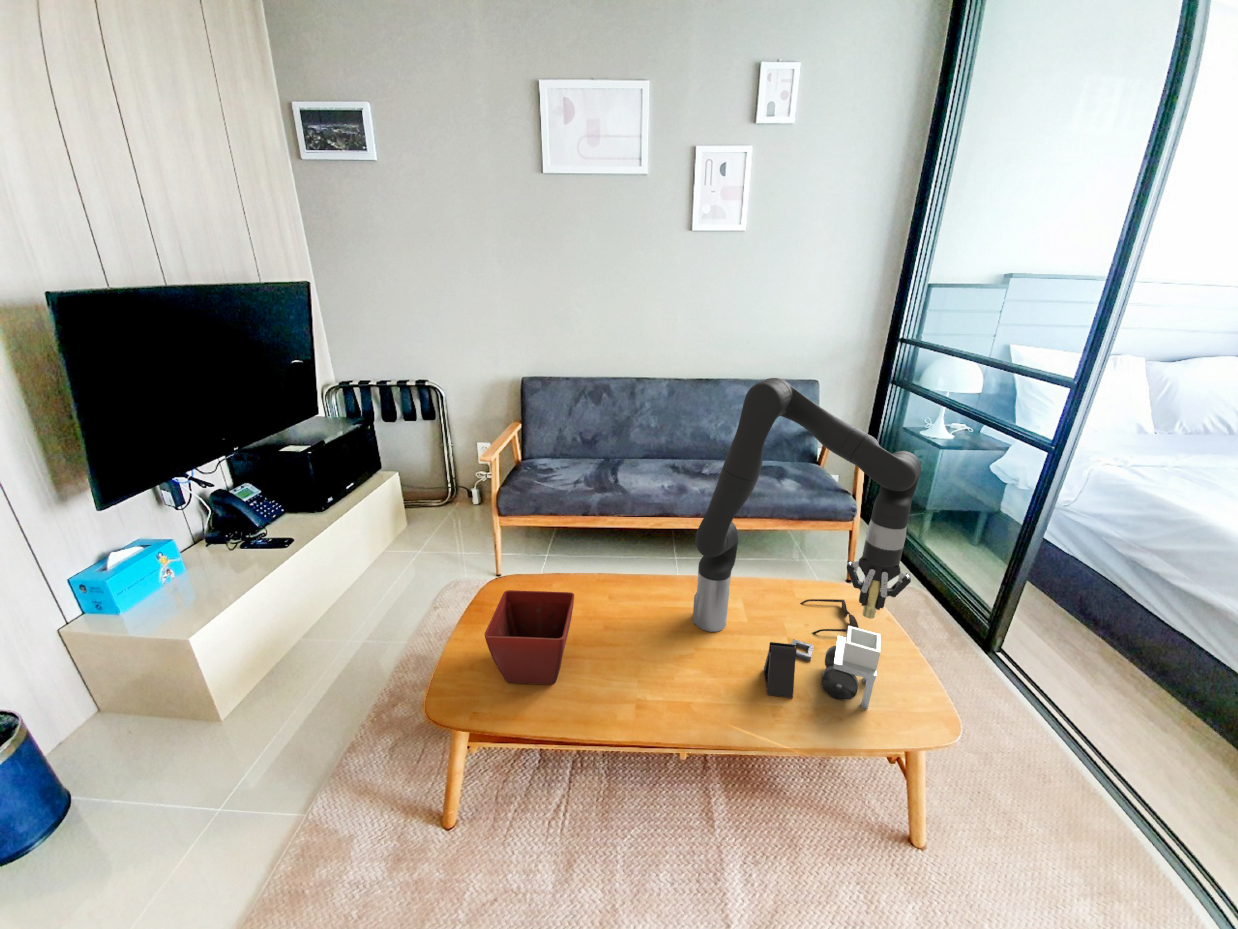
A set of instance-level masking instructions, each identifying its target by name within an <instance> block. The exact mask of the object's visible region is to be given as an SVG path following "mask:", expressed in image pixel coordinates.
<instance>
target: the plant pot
mask: <svg viewBox="0 0 1238 929" xmlns="http://www.w3.org/2000/svg"><path fill="white" fill-rule="evenodd" d="M574 604H575V594H574V593H573V592H569V591H546V590H539V591H538V590H514V589H513V590H512V589H511V590H508V589H507V590H505V591H504V592H503V593H502V595H501V598H500V600H499V601H498V604H497V607H496V609H495V611H494V612H493V616H492V617H491V619H490V621H489V623H488V625H487V628H486V629H485V632H484V638H485V642H486V646H487V648H488V651H489V653H490V655H491V658H492V660H493V662H494V664H495V666H496V668H497V669H498V671H499V673H500V674H501V676H502V678H503V679H504V680H505V681H506V682H507V683H509V684H510V683H512V684H532V685H554V684H555V683H556V682H557V680H558V678H559V674H560V670H561V666H562V661H563V657H564V651H565V647H566V644H567V641H568V636H569V631H570V626H571V622H572V616H573V609H574Z"/></svg>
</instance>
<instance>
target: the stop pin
mask: <svg viewBox="0 0 1238 929" xmlns="http://www.w3.org/2000/svg"><path fill="white" fill-rule="evenodd" d="M880 591H881V583H880V581H876V580H872V581H871V584H870V586H869V588H868V590H867V598H866V603H865V606H863V609H862V616H863V617H864V618H867V619H871V620H872V619H874V618H875V617H876V611H877V609H876V607H877V603H878V598H879V595H880Z"/></svg>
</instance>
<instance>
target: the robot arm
mask: <svg viewBox="0 0 1238 929" xmlns="http://www.w3.org/2000/svg"><path fill="white" fill-rule="evenodd" d="M779 417H782V418H785V419H788V421H789V420H790V421H792V422H794V423H796V424H798V425H800V427H802V428H803V429H804V430H806V431H807V432H809V434H811V436H813V437H814V438H815V439H816V440H817V441H818V442H819V443H820V444H821V445H822V446H823V447H825V448H826V449H827V450H829V451H830V452H832V453H833V454H835V455H837V456H838V457H840V458H842V459H844V460H845V461H847V462H849V463H850V464H853V465H855V466H856V467H857V468H858V469H860V470H861V472H863V473H864V474H865V475H867V476H868V477H869V478H870V479H871V480H873V481H874V482H875V483H876V484H878V485H879V486H880V488H879V491H878V494H877V496H876V498H875V499H874V502H873V507H872V512H871V518H870V521H869V523H868V526H867V530H866V531H865V534H866V536H865V540H864V545H863V550H862V555H861V557H860V558H859V559H858V561H852V560H848V561H847V562H846V570H847V574H848V576H849V578H850V581H851V584H852V586H853V588H854V589H858V590H859V591H860V593H859V597H858V602H859V603H860V605H861V606H862V607H864V606H865V603H866V598H867V590H868V588H869V586H870V584H871V581H872V580H876V581H880V583H881V590H880V595H879V598H878V603H877V607H876V611H880V610H881V609H884V607H885V603H886V599H887V598H888V597H891V598H896V597H897V596H898V595H899V594H900V593H901V592H903V591H904V590H905V588H906V587H907V586H908V585H910V584H911V582H912V578H911V574H910V573H908V572H906V573H905V572H904V571H902V570H901V567H900V563H901V559H902V555H903V551H904V547H905V546H904V545H905V541H906V537H907V527H908V522H909V517H910V515H911V514H910V513H911V506H912V501H913V498H914V495H915V492H916V490H917V487H918V482H919V479H920V477H921V473H922V466H921V462H920V459H919V458H918V457H917V456H916V455H915V454H914V453H912V452H910V451H906V450H900V451H895V452H893V453H891V452H889V451H887V450H886V449H885V448H883V447H881V445H880V444H879V441H878V439H876V438H875V437H874V436H872V435H870V434H868V433H866V432H865V431H863V430H861V429H860V428H858V427H856V426H854V425H852V424H850V423H848V422H846V421H844V420H842V419H841V418H839V417H837V416H835V415H834V414H832V413H831V412H829V411H827V410H826V409H824V408H823V407H821V406H820V405H818V404H817V403H815V402H814V401H813V400H811V399H810V398H808V397H807V396H805V395H804V394H803V393H802V392H800V391H799V390H798V389H797V388H795V387H794V386H792V384H790V383H789V382H787V381H786V380H784V379H782V378H780V377H770V378H767V379H764V380H762V381H759V382H757V383H755V384H754V385H752V387H750V388H749V389H748V390H747V392H746V393H745V397H744V400H743V404H742V408H741V413H740V417H739V421H738V425H737V429H736V432H735V435H734V438H733V440H732V442H731V444H730V448H728V453H727V455H726V458H725V460H724V462H723V465H722V468H721V471H720V473H719V478H718V479H717V483H716V486H715V488H714V491H713V494H712V497H711V499H710V502H709V506H708V508H707V510H706V513H705V514H704V515H703V519H702V520H701V522H700V524H699V526H698V528H697V531H696V533H695V547H696V549H697V550H698V553H700V555H702V557H701V558H700V560H699V563H698V567H697V568H698V569H697V571H698V572H697V580H696V581H697V583H696V584H697V585H696V592H695V594H694V595H693V596H694V597H693V610H692V611H693V612H692V622H691V623H692V624H693V625H696V626H697V627H698V628H699V629H700V630H702V631H706V632H710V633H717V632H721V631H722V630H724V629H725V628H726V626H727V618H728V610H729V607H728V606H729V599H730V598H729V596H730V587H731V579H732V578H731V577H732V570H733V568H734V566H735V563H736V559H737V553H738V552H737V551H738V544H739V532H738V529H737V526H736V524H735V523H734V522H733V520H734V518H735V516H737V514H738V513H739V511H740V510H741V509H742V508H743V506H745V504H746V503H747V500H748V499H749V498H750V497H751V495H752V493H753V491H754V489H755V487H756V484H757V482H758V480H759V478H760V475H761V471H762V467H763V457H764V456H763V455H764V453H763V452H764V447H765V446H764V445H765V442H766V440H767V437H768V436H769V433H770V432H771V428H772V427H773V426H774V423H775V422H776V420H777V419H778V418H779ZM858 568H860V570H861V571H862V573H863V575H864V576H863V581H860V578H859V576H858V573H857V572H858ZM897 576H898V577H897ZM896 577H897V581H896V582H895V583H894V584H893V585H892V586H891V587H890V588H889V587H888V583H889V582H890V581H892V580H893V579H895V578H896Z"/></svg>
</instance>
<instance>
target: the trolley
mask: <svg viewBox="0 0 1238 929" xmlns="http://www.w3.org/2000/svg"><path fill="white" fill-rule="evenodd" d="M845 640H846V636H845V637H844V636H841V635H837V638H836V645H833V646H830V647H829V648H828V649H827V650H826V652H825V656H824V665H825V667H826V668H825V669H824V670H823V672H822V677H821V681H820V682H821V686H822V689H823V691H824V692H825V693H826V694H827V695H828V696H829V697H831V698H833V699H835V700H839V701H849V700H851V699H854V698H855V697H856V696H857V694H858V686H859V681H858V677H860V678H862V683H865V685H864V686H865V687H864V689H863V694H862V700H861V705H860V707H861V709H862V708H863V709H866V710H868V709H869V704H870V701H871V696H872V692H873V688H874V683H875V681H876V678H877V670H874V669H870V668H867V667H863V666H860V665H857V664H853V663H850V662H847V661H843V656H844V647H845Z"/></svg>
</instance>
